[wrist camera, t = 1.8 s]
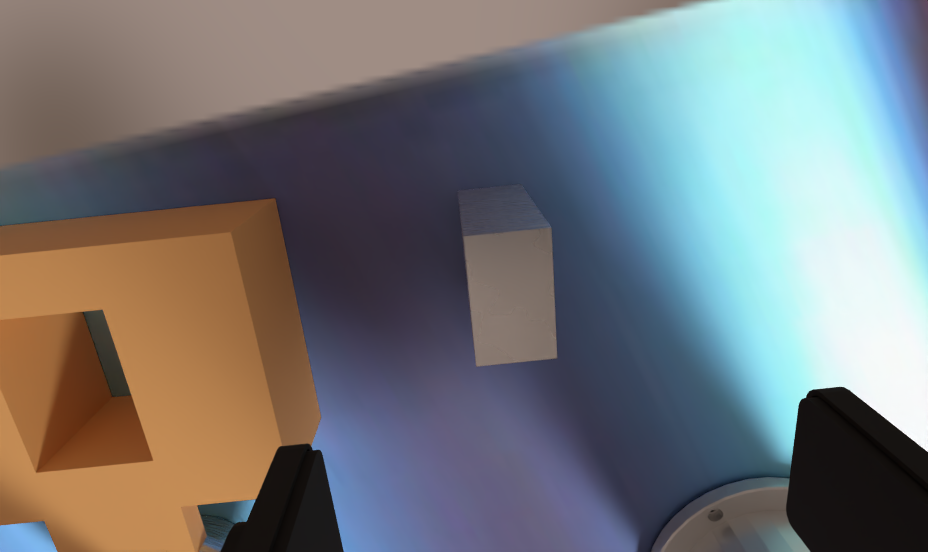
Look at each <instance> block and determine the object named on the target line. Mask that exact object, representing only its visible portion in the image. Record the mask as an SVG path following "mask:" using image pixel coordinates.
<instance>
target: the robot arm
mask: <svg viewBox="0 0 928 552" xmlns="http://www.w3.org/2000/svg"><path fill="white" fill-rule="evenodd" d="M220 552H344V551H343V547H342V542H341V538H340V533H339V528H338V524H337V519H336V515H335V510H334V505H333V501H332V496H331V492H330V487H329V482H328V478H327V473H326V469H325V464H324V460H323V455H322V452H321V451H320V450H312V447H311V445H310V444H308V443H306V444H297V445H287V446H280V447H278V449H277V451H276V453H275V455H274V458H273V460H272V463H271V465H270V467H269V470H268V472H267V475H266V477H265V479H264V482H263V484H262V486H261V489H260V491H259V494H258V496H257V498H256V501H255V503H254V506H253V508H252V510H251V513H250V515H249V518H248V520H247V522H238V523H236V524H235V525H233V526H232V528H231V530H230V531H229V533H228V535H227V538H226V540H225V542H224V544H223V547H222V549H221V551H220ZM651 552H928V452H927V451H926V450H924V449H923V448H922V447H921V446H919V445H918V444H917V443H916V442H914V441H913V440H912V439H910V438H909V437H908V436H907V435H905V434H904V433H903V432H902V431H900V430H899V429H898V428H896V427H895V426H894V425H893V424H891V423H890V422H889V421H888V420H886V419H885V418H884V417H883V416H881V415H880V414H879V413H877V412H876V411H875V410H874V409H872V408H871V407H870V406H869V405H867V404H866V403H865V402H863V401H862V400H861V399H860V398H858V397H857V396H856V395H855V394H853V393H852V392H851V391H850V390H848V389H846V388H844V387H834V388H825V389H815V390H811V391H809V393H808V394H807V396H806V398H804V399H802V400H801V401H800V403H799V408H798V416H797V424H796V432H795V439H794V447H793V455H792V463H791V471H790V479H789V478H776V477H764V478H754V479H746V480H742V481H738V482H734V483H730V484H727V485H724V486H722V487H719V488H717V489H715V490H712V491H710V492H707V493H706V494H704V495H702V496H701V497H699V498H697V499H696V500H694V501H692V502H691V503H689V504H688V505H687V506H686V507H684V508H683V509H682V510H681V511H680V512H679V513H677V514H676V515H675V516H674V517H673V518H672V519H671V520H670V522H669V523H668V524H667V525H666V526H665V527H664V529H663V530H662V531H661V533H660V535H659V536H658V538H657V540H656V542H655V543H654V545H653V548H652V551H651Z"/></svg>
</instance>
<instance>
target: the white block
mask: <svg viewBox="0 0 928 552" xmlns="http://www.w3.org/2000/svg"><path fill="white" fill-rule="evenodd" d="M458 200H459V210H460V220H461V230H462V240H463V250H464V260H465V271H466V281H467V290H468V299H469V308H470V316H471V325H472V334H473V342H474V351H475V359H476V367H477V366H487V365H496V364H506V363H516V362H526V361H536V360H546V359H556V358H557V343H556V320H555V297H554V274H553V251H552V228H551V226H550V225H549V223H548V222H547V221H546V219H545V218H544V216H543V215H542V213H541V212H540V211H539V209H538V208H537V206H536V205H535V203H534V202H533V201H532V199H531V198H530V196H529V195H528V193H527V192H526V190H525V189H524V188H523V186H522V185H521V184H516V185H506V186H496V187H486V188H476V189H466V190H458Z"/></svg>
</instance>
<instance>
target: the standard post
mask: <svg viewBox="0 0 928 552" xmlns="http://www.w3.org/2000/svg"><path fill="white" fill-rule="evenodd" d="M200 516H201V519H202V522H203V525H204V529H205V532H206V535H207V537H206V539H205V541H204V543H203V545H202V547H201V549H200V551H199V552H220V551H221V549H222V547H223V544H224V542H225V540H226V538H227V535H228V533H229V531H230V530H231V528H232V526H233V525H235V524H233V523H232V522H230V521H228V520H226V519H223V518H220V517H216V516H208V515H200ZM150 550H151V549H150ZM121 551H122V550H121ZM137 551H138V550H137ZM130 552H131V551H130ZM133 552H134V551H133Z"/></svg>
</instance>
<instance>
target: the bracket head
mask: <svg viewBox="0 0 928 552" xmlns="http://www.w3.org/2000/svg"><path fill="white" fill-rule="evenodd" d="M94 310H103V312H104V315H105V318H106V321H107V324H108V327H109V330H110V333H111V336H112V339H113V342H114V345H115V348H116V351H117V354H118V356H119V359H120V362H121V365H122V368H123V371H124V374H125V377H126V380H127V383H128V386H129V389H130V392H131V395H128V396H119V397H112V395H111V392H110V389H109V386H108V383H107V380H106V377H105V375H104V372H103V369H102V366H101V363H100V360H99V357H98V354H97V352H96V349H95V346H94V343H93V340H92V337H91V334H90V331H89V329H88V326H87V323H86V320H85V317H84V314H83V312H84V311H94ZM320 419H321V415H320V410H319V405H318V400H317V395H316V391H315V386H314V381H313V376H312V371H311V367H310V362H309V357H308V352H307V348H306V343H305V338H304V333H303V328H302V324H301V319H300V314H299V309H298V304H297V300H296V295H295V290H294V285H293V280H292V276H291V271H290V266H289V261H288V257H287V252H286V247H285V242H284V237H283V233H282V228H281V223H280V218H279V213H278V209H277V204H276V199H275V198H273V199H263V200H253V201H243V202H233V203H223V204H213V205H203V206H193V207H184V208H174V209H164V210H154V211H144V212H134V213H124V214H114V215H104V216H94V217H84V218H74V219H64V220H54V221H45V222H35V223H25V224H15V225H5V226H0V525H9V524H18V523H28V522H38V521H45V524H46V526H47V528H48V531H49V533H50V535H51V538H52V540H53V542H54V545H55V547H56V549H57V552H130V551H131V552H133V551H134V552H199V551H200V549H201V547H202V545H203V543H204V541H205V539H206V537H207V535H206V532H205V529H204V525H203V522H202V519H201V516H200V513H199V509H198V506H197V505H204V504H214V503H224V502H233V501H243V500H253V499H256V498H257V496H258V494H259V491H260V489H261V486H262V484H263V482H264V479H265V477H266V475H267V472H268V470H269V467H270V465H271V463H272V460H273V458H274V455H275V453H276V451H277V449H278V447H280V446H287V445H297V444H306V443H308V444H310V445H312V442H313V439H314V437H315V434H316V431H317V428H318V425H319V422H320ZM150 549H151V550H150ZM121 550H122V551H121ZM137 550H138V551H137Z"/></svg>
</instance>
